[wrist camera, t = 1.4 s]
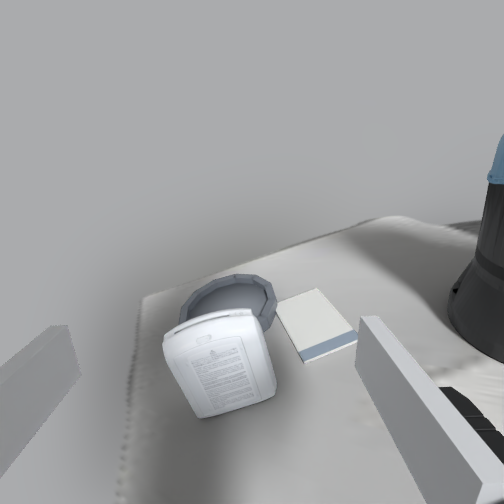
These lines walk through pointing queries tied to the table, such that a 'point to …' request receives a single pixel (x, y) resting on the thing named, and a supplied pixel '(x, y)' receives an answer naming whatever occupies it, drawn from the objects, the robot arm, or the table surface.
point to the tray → (233, 298)
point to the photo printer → (220, 361)
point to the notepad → (314, 325)
